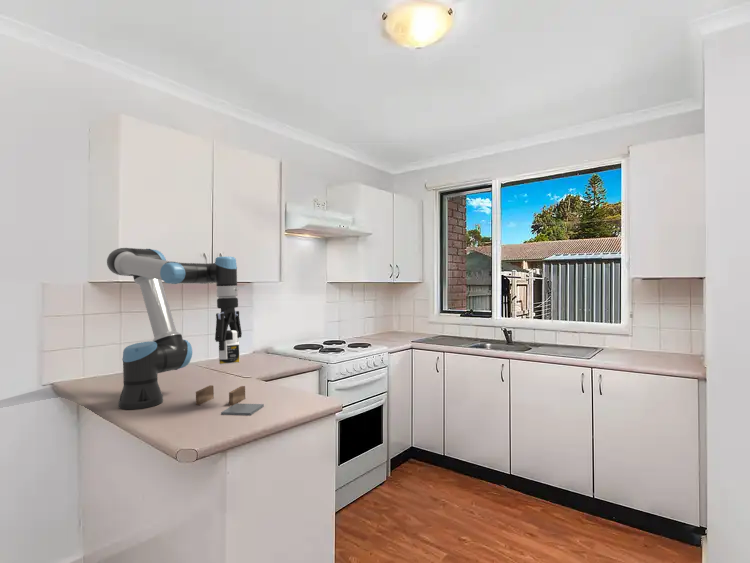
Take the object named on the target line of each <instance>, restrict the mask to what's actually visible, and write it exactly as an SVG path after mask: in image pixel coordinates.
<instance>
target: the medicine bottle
mask: <svg viewBox="0 0 750 563" xmlns="http://www.w3.org/2000/svg"><path fill="white" fill-rule="evenodd" d="M225 341H227V359H219V358H218V362H219V363H218V364H219V365H229V364H230V365H232V364H240V361H241V351H240V349H241V348H240V341H239V342H237V341H238V339H237V331H235V330H230V329H229V330H228V329H227V334H226V339H225Z"/></svg>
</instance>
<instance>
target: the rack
mask: <svg viewBox="0 0 750 563" xmlns="http://www.w3.org/2000/svg"><path fill="white" fill-rule="evenodd" d="M214 394H215V392H214V385H208V386H205V387H204V388H201V389H199V390H197V391H195V405H196V406H201V405H203V404H205V403H206V402H208V401H210V400H212V399H214ZM244 400H246V386H245V385H241V386H238V387H237V388H235V389H233V390H230V391H228V406H229V407H231V406H233V405H234V404H236V403H238V404H240V402H243V401H244Z"/></svg>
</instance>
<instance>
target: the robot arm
mask: <svg viewBox="0 0 750 563" xmlns="http://www.w3.org/2000/svg"><path fill="white" fill-rule="evenodd" d="M214 260H215V261H214V263H213V262H212V263H211V262H210V263H200V262H199V263H198V262H197V263H196V262H195V263H194V262H190V263H189V262H178V261H177V262H176V261H171V260H167V259H166V257H165V255H164V254H163V253H162V252H161V251H159V250H157V249H151V248H132V247H120V248H116V249H115V250H113V251H111V252H110V253H109V255H108V256H107V259H106V265H107V268H108V269H109V271H110V272H111V273H113V274H115V275H118V276H124V277H126V276H127V277H133V281H134V283H135V284H136V285H139V287H140V290H141V291H140V292H141V295H142V297H143V301H144V304H145V309H146V313H147V317H148V319H149V323H150V327H151V331H152V334H153V340H152V341H150V340H149V341H142V342H136V343H132V344H129V345H127V346H126V347H125V348H124V349H123V351H122V358H121V360H122V370H123V371H122V373H123V374H122V375H123V376H122V377H123V378H122V379H123V386H122V390H121V394H120V396H119V399H118V408H119V409H120V410H121V409H122V410H139V409H146V408H152V407H155V406H157V405H160V404H162V403H163V401H164V396H163V393H162V391H161V387H160V384H159V383H158V374H161V373H166V372H171V371H177V370H180V369H183V368H186V367H187V366H188V365H189V364H190V362H191V360H192V357H193V348H192V345H191V343H190V342H189V341H188V340H186V339H183V336H182V334H181V333H180V332H178V331H177V330H176V325H175V322H174V318H173V316H172V315H173V314H172V313H171V312H172V311H171V309H170V305H169V302H168V298H167V295H166V292H165V288H164V284H163V283H165V284H171V285H177V284H212V283H216V285H215V286H216V297H217V299H216V305H217V306H216V307H217V309H220V312H217V313H216V315H215V316H216V317H215V318H216V319H215V320H216V321H215V334H214V341H215V342H216V343H218V357H219V358H218V360H219V359H227V341H225V339H226V334H227V330H228V329H229V330H235V331H237V339H238V341H237V342H239V343H240V338H242V333H243V332H242V327H241V321H240V311H239V310H235V309H236V308H238V307H239V298H238V291H239V288H238V271H237V270H238V265H237V259H236V258H235V257H234V256H216V257H215V259H214Z"/></svg>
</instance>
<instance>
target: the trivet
mask: <svg viewBox="0 0 750 563" xmlns="http://www.w3.org/2000/svg"><path fill="white" fill-rule="evenodd" d="M264 406H265V404H264V403H236V404H234V405H233V406H229V407H228V408H226V409H224V410H222V411H221V412H220V414H221V416H222V415H223V416H224V415H226V416H252V415H254V413H257V412H258V411H259V410H261V409H262V408H264Z"/></svg>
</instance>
